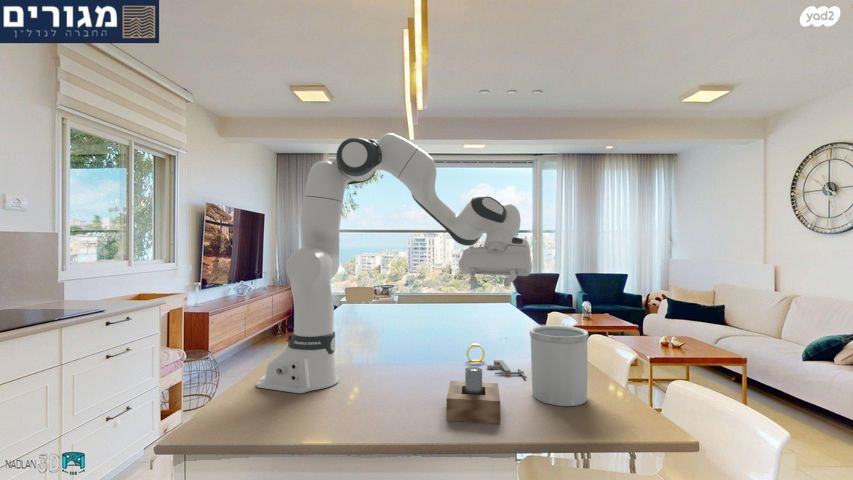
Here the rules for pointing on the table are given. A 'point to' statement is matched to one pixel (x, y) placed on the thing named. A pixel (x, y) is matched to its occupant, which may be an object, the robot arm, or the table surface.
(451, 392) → the socket
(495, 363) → the clamp
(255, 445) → the table surface
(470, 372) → the peg
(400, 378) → the table surface
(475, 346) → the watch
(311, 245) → the robot arm
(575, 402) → the utensil holder
